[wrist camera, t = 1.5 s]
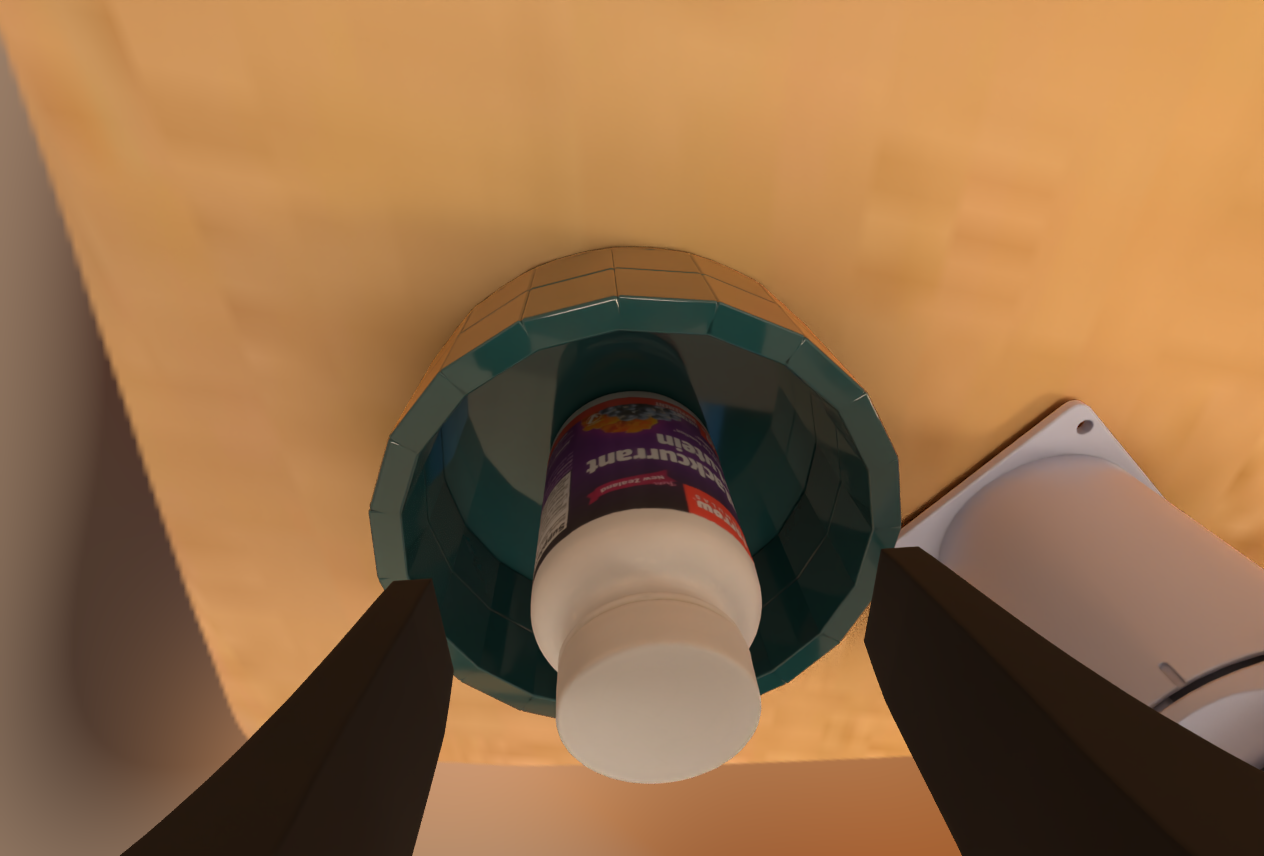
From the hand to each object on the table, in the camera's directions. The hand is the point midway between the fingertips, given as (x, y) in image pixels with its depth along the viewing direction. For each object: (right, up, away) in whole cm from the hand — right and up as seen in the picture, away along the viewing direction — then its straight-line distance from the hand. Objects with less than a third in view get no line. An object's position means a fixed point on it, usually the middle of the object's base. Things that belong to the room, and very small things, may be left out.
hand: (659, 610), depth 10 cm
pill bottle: (-1, +2, +11) cm, 11 cm away
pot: (-1, +2, +11) cm, 11 cm away
